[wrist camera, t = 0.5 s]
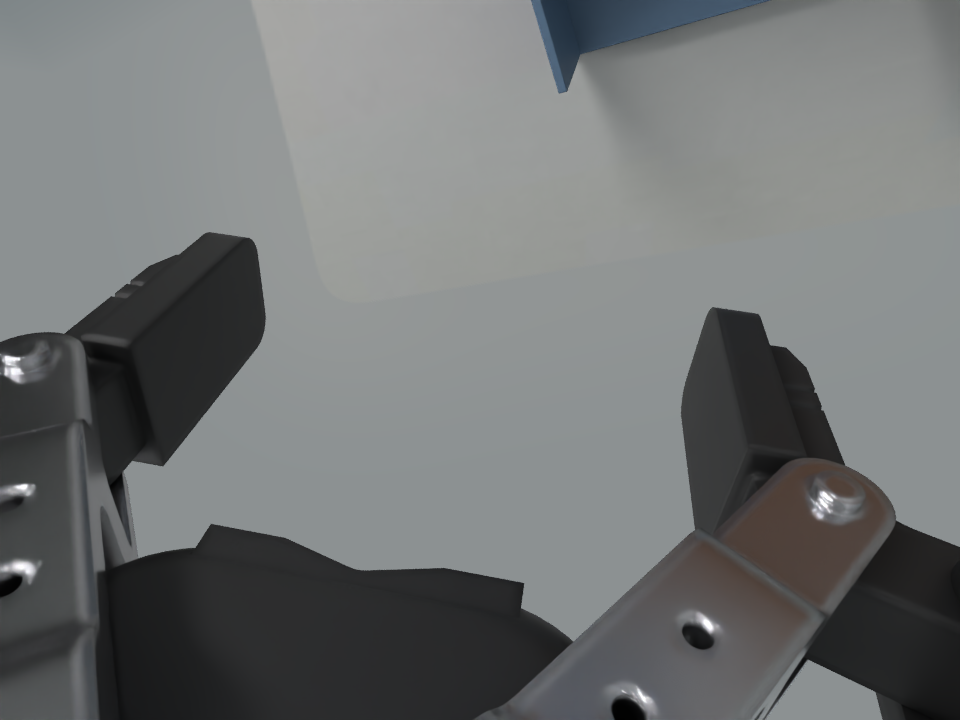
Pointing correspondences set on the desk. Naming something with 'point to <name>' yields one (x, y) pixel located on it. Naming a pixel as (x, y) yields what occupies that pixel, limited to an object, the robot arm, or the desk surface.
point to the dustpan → (613, 25)
